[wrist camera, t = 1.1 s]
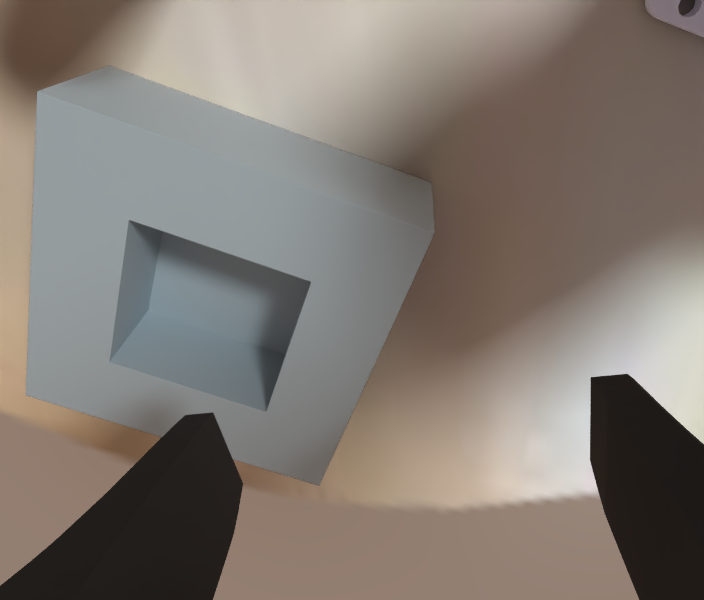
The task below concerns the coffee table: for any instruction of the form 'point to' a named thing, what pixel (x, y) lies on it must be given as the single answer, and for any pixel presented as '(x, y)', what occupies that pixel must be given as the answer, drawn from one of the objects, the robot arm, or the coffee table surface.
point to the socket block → (211, 268)
